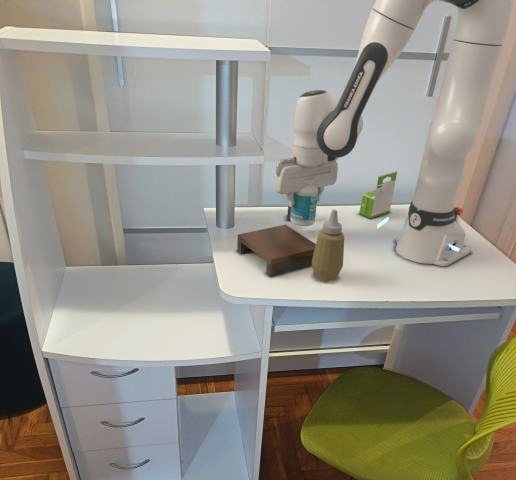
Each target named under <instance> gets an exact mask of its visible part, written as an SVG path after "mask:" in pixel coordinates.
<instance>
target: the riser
mask: <svg viewBox="0 0 516 480" xmlns="http://www.w3.org/2000/svg"><path fill="white" fill-rule="evenodd" d="M315 246H316V242H314V241H312V240H311V239H309V238H308V237H306V236H304V235H303V234H301V233H299V232H298V231H296V230H295V229H294V228H292V227H290V226H289V225H287V224H281V225H277V226H273V227H267V228H262V229H258V230H253V231H247V232H243V233H239V234H237V248H236V249H237V252H238V253H239V254H240V255H242V254H246V253H250V252H253V253H254V254H256V255H258V257H260V258H262V259H263V260H264V261H266V271H265V274H266V275H267V276H268V277H270V278H271V277H276V276H279V275H282V274H287V273H290V272H293V271H294V272H295V271H298V270H301V269H305V268H309V267H312V259H313V254H314V250H315Z"/></svg>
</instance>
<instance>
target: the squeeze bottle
mask: <svg viewBox="0 0 516 480" xmlns="http://www.w3.org/2000/svg"><path fill="white" fill-rule="evenodd" d="M342 229H343V225H342V223H340V222H339V216H338V210H337V209H331V213H330V215H329V217H328V221H325V222H323V224H322V229H321V230H320V231H319V232H318V233H317V237H316V242H315V244H316V246H315V250H314V254H313V259H312V266H311V267H312V271H313V275H314V277H315V279H317V280H319V281H322V282H333V281H335V280H337V278H338V276H339V275H340V272H341V271H342V269H343V266H344V254H345V253H344V252H345V235H344V233H343V232H342Z"/></svg>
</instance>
